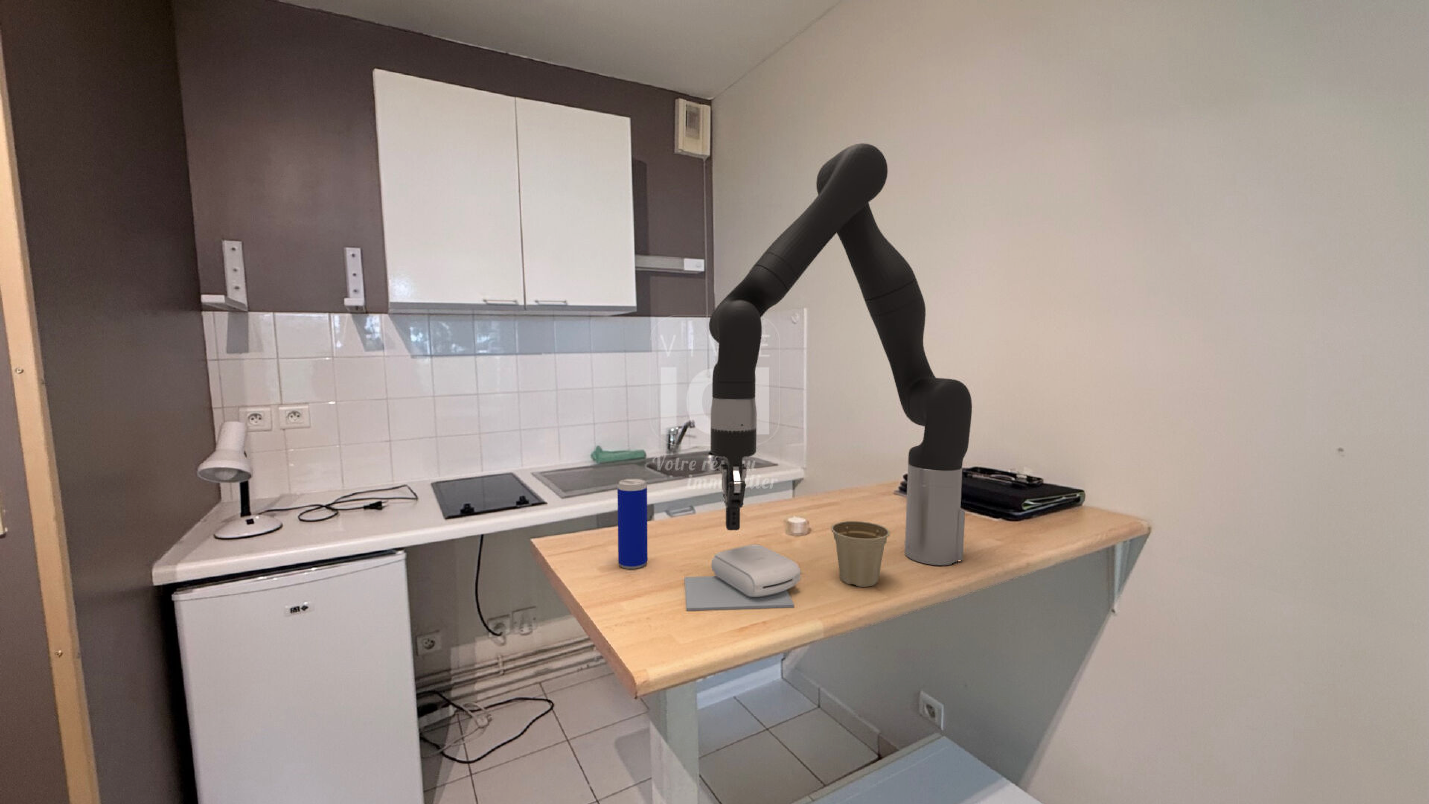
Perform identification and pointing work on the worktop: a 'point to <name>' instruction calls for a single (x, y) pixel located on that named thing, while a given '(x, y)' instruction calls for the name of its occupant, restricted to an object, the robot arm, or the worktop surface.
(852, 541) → the flower pot
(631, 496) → the beverage can
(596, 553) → the worktop surface
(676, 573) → the worktop surface
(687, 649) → the worktop surface
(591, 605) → the worktop surface
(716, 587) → the mat
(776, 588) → the photo printer
